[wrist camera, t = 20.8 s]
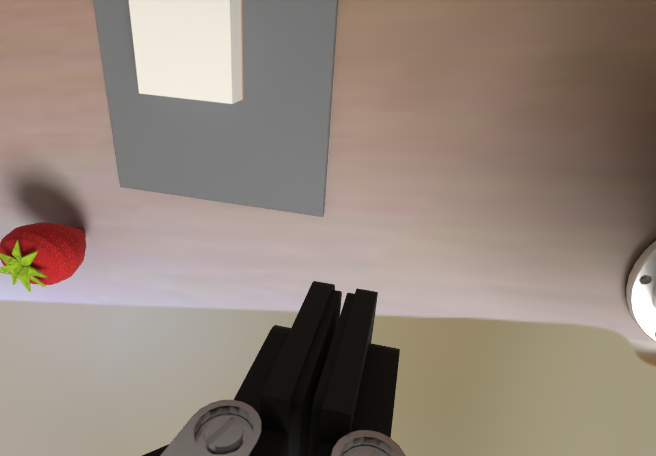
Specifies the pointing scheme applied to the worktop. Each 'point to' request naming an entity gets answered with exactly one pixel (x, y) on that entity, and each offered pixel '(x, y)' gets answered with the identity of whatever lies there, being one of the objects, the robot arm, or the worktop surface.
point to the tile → (189, 48)
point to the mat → (232, 113)
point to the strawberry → (42, 253)
